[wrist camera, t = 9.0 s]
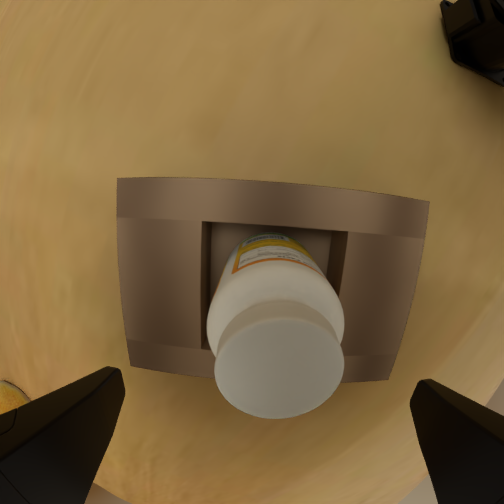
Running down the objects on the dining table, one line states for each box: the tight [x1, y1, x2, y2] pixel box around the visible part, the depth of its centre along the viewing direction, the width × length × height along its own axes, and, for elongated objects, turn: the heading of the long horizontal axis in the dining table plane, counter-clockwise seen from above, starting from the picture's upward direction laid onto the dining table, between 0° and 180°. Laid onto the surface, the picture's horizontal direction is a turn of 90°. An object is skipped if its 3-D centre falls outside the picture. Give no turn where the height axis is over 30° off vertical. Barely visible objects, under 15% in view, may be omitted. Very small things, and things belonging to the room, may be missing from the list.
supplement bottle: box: [207, 232, 344, 419], centre depth 13 cm, size 5×5×10 cm
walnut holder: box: [117, 177, 430, 383], centre depth 16 cm, size 16×11×4 cm
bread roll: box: [0, 381, 31, 414], centre depth 22 cm, size 8×9×4 cm
